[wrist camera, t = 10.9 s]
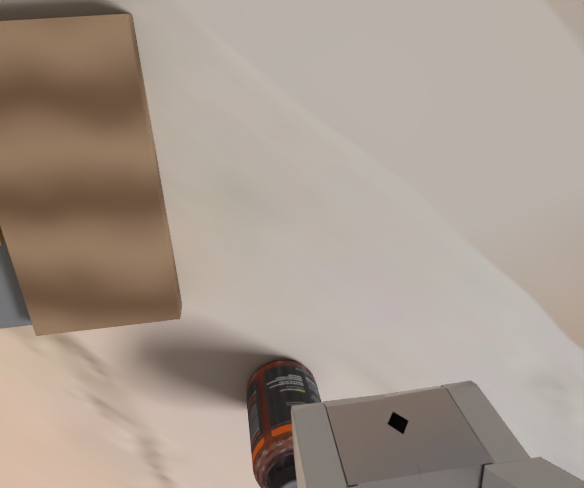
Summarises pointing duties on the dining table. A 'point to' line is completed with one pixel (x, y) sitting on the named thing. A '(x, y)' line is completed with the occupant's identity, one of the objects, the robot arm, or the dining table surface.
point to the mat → (11, 294)
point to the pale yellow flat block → (1, 236)
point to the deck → (82, 176)
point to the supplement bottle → (276, 419)
